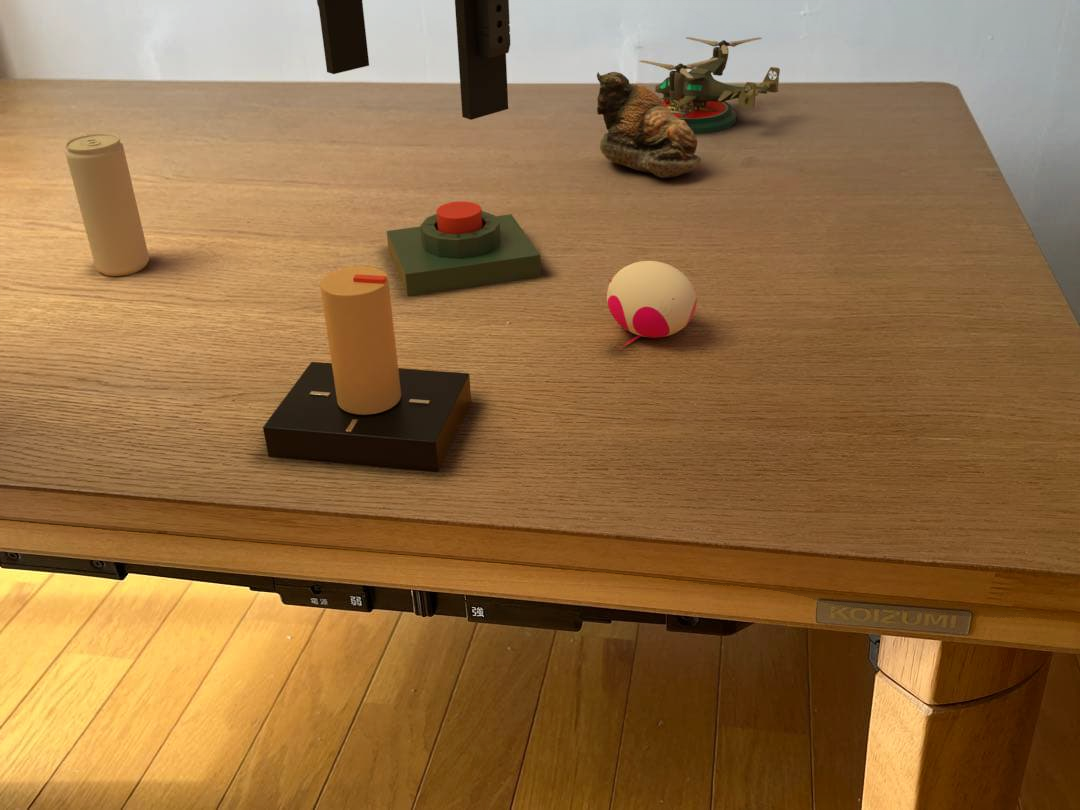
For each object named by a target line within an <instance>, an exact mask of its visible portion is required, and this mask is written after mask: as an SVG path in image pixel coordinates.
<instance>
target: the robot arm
mask: <svg viewBox="0 0 1080 810" xmlns="http://www.w3.org/2000/svg"><path fill="white" fill-rule="evenodd" d="M316 3H317V7H318V12H319V21H320V28H321V29H320V30H321V35H322V37H321V38H322V43H323V52H324V58H325V59H324V60H325V68H326V72H327V73H328V74H332V75H337V74H340V73H344V72H349V71H352V70H357V69H362V68H366V67H369V66H370V58H369V49H368V42H367V32H366V23H365V13H364V12H365V11H364V5H363V4H364V2H363V0H316ZM454 9H455V11H454V12H455V23H456V24H455V25H456V27H455V28H456V38H457V39H456V41H457V54H458V56H457V57H458V69H459V70H458V71H459V85H460V86H459V87H460V88H459V89H460V101H461V116H462V118H464V119H467V120H471V121H473V120H476V119H479V118H482V117H485V116H489V115H492V114H493V115H494V114H495V113H496V114H497V113H500V112H502V111H506V110H509V94H508V93H509V92H508V91H509V90H508V71H507V70H508V69H507V68H508V67H507V54H509V52H510V47H511V33H510V32H511V26H510V0H454Z"/></svg>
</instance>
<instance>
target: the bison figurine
mask: <svg viewBox="0 0 1080 810" xmlns="http://www.w3.org/2000/svg"><path fill="white" fill-rule="evenodd" d="M596 78H597V80H598V82H599V86H600V87H599V91H598V95H597V99H596V100H597V107H596V114H597V115H599V116H600V115H602V117H603V121H604V124H605V128H606V130H607V132H606V133H604V134H603V136H602V138H601V140H600V143H599V149H600V151H601V154H603V156H604V157H605V159H606V160H608V161H610V162H612V163H614V164H618V165H621V166H624V167H627V168H630V169H632V170H635V171H639V172H642V173H643V172H644V173H648V174H651V175H655V177H657V178H662V179H665V178H666V179H668V178H675V177H679V176H682V175H685V174H686V173H689V172H692V171H693V170H695V169H697V168H698V167H699V166H700V164H701V161H702V159H701V157H700V156H699V155H696V154H695V153H696V151H697V147H698V140H697V136H696V134H694V132H693V131H692V129H691V128H690V127H689V126H688V125H687V123H686V122H685V121H684V120H681V119H678V118H677V117H676V116H675V115H674V114H673V113H672V112H671V111H670V110H669V109H668V108H667V107H666V106H665V105H664V103H663V102H662V100H660V99H661V98H660V97H659V96H658V95H657V94H656V92H653V91H651V89H649V88H647V87H646V86H644V85H642V84H639V83H638V84H633V83H630V80H629V79H628V77H627V76H626V75H624V74H622V73H620V72H617V71H610V72H607V73H605V74H600V72H599V71H597V74H596Z"/></svg>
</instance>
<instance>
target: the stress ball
mask: <svg viewBox="0 0 1080 810" xmlns="http://www.w3.org/2000/svg"><path fill="white" fill-rule="evenodd" d="M606 279H607V280H608V281H609V285H608V287H607V290H606V303H607V308H608V311H609V312H610V314H611V316H612V318H613V319H614V320H615V321H616V322H617V324H619V326H621V327H622V328H623V329H625V330H626V331H628V332H630V333H631V334H634V335H636V336H634V337H633V338H631V340H629V341H628V342H626V343H625V344H624V345H622V346H621V347H620V349H622V348H623V347H625V346H627V345H629V344H631V343H633V342H634V341H636V340H638V339H639V338H641V337H644V338H653V339H658V338H665V337H668V336H672V335H674V334H676V333H678V332H680V331H681V330H682V329H684V328H685V327H687V325H688V324H689V323H690V322H691V320H692V319H693V316H694V314H695V313H696V308H697V295H696V290H695V288H694V286H693V284H692V282H691V280H690V279H689V278H688V277H687V276H686V275H685V274H684V273H683V272H682V271H681V270H679V269H677V267H675V266H673V265H671V264H668V263H665V262H661V261H658V260H642V261H636V262H633V263H630V264H627V265H626V266H624V267H623V268H621V269H620V270H619V271H618V272H616V274H615V275H614V276H613V277H612V278H611V279H609V278H606Z"/></svg>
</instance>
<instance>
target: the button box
mask: <svg viewBox="0 0 1080 810" xmlns="http://www.w3.org/2000/svg"><path fill="white" fill-rule="evenodd" d="M386 238H387V247H388V253H389V256H390V259H391V261H392V263H393V265H394V268H395V270H396V272H397V276H398V277H399V280H400V282H401V284H402V287H403V289H404V292H405V294H406V296H407V297H413V296H421V295H427V294H434V293H435V294H436V293H440V292H442V293H443V292H447V291H453V290H460V289H466V288H468V289H469V288H475V287H481V286H488V285H494V284H502V283H509V282H515V281H522V280H528V279H534V278H541V277H542V270H541V269H542V268H541V267H542V266H541V265H542V264H541V254H540V252H539V251H538V250H537V248H536V247H535V245H534V244H533V242H532V241H531V240H530V238H529V237H528V235H527V234H526V232H525V231H524V230H523V229H522V227H521V225H520V224H519V223H518V220H516V218H515V217H514V216H513V214H512V213H510V214H509V213H508V214H502V215H495V214H492V213H490V212H486V211H485V210H482V229H479V230H477V231H475V232H472V233H465V234H447V233H443V232H441V231H439V230H438V224H437V213H435V214H433V215H430V216H427V217H425V219H424V220H423V221H422V223H421V224H420V225H419V226H413V227H405V228H399V229H391V230H386Z"/></svg>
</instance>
